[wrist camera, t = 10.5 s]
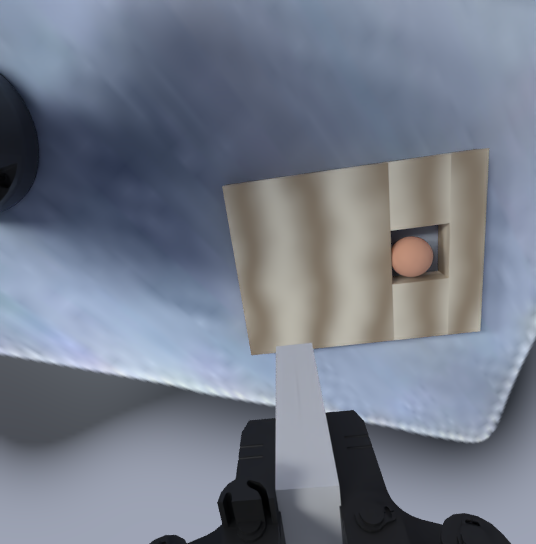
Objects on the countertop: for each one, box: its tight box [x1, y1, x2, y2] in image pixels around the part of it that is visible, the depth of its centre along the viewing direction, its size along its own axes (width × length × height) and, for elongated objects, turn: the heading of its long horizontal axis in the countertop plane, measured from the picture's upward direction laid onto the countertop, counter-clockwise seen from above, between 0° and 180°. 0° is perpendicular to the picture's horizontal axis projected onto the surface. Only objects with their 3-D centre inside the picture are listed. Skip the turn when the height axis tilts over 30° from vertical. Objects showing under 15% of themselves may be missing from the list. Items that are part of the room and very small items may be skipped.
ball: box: [391, 236, 433, 277], centre depth 34 cm, size 4×4×4 cm
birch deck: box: [222, 148, 489, 355], centre depth 35 cm, size 24×18×2 cm
